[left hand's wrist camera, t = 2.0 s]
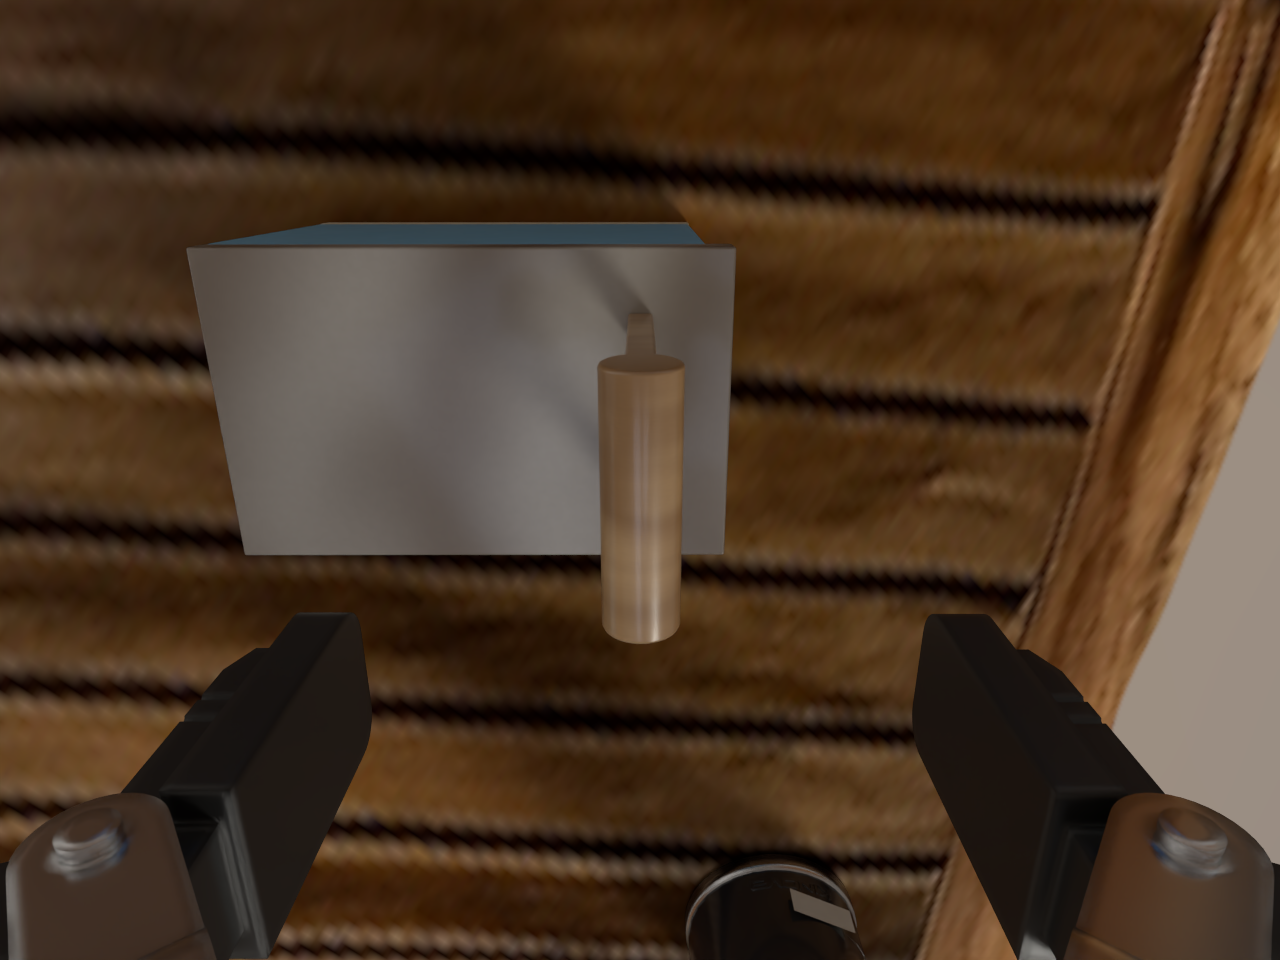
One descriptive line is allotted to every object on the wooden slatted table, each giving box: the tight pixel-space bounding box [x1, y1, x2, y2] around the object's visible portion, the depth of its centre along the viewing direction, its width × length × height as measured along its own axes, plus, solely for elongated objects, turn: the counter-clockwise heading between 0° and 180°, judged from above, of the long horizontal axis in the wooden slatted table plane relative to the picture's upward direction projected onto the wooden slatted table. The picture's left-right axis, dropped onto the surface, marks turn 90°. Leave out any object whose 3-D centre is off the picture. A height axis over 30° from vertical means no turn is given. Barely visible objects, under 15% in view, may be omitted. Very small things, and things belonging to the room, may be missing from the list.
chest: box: [210, 222, 704, 244], centre depth 30 cm, size 14×9×10 cm, turn 90°
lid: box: [187, 244, 736, 644], centre depth 21 cm, size 15×9×9 cm, turn 90°
